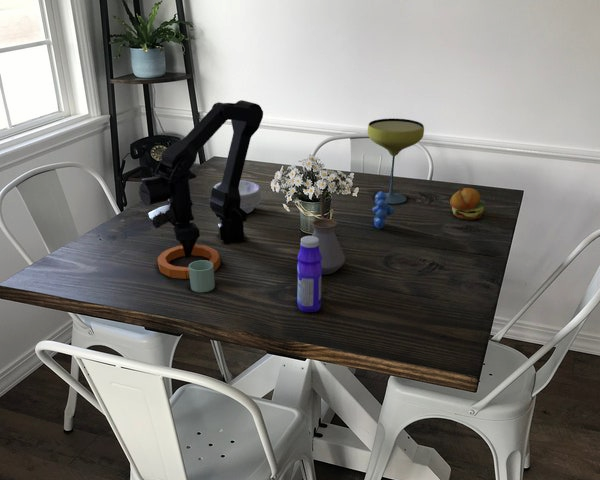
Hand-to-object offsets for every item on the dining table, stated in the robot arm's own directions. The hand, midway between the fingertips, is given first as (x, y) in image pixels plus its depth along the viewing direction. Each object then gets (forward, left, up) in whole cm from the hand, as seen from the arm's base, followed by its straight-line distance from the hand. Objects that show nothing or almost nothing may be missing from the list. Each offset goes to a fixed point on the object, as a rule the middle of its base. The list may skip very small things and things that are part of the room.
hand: (184, 250), depth 173 cm
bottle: (-23, +39, -2) cm, 45 cm away
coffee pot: (-35, +16, -2) cm, 38 cm away
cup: (-1, +21, -1) cm, 21 cm away
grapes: (-60, +1, -2) cm, 60 cm away
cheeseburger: (-90, 0, -2) cm, 90 cm away
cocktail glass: (-74, -22, -2) cm, 77 cm away
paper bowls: (-22, -28, -2) cm, 36 cm away
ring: (0, +7, -1) cm, 7 cm away
